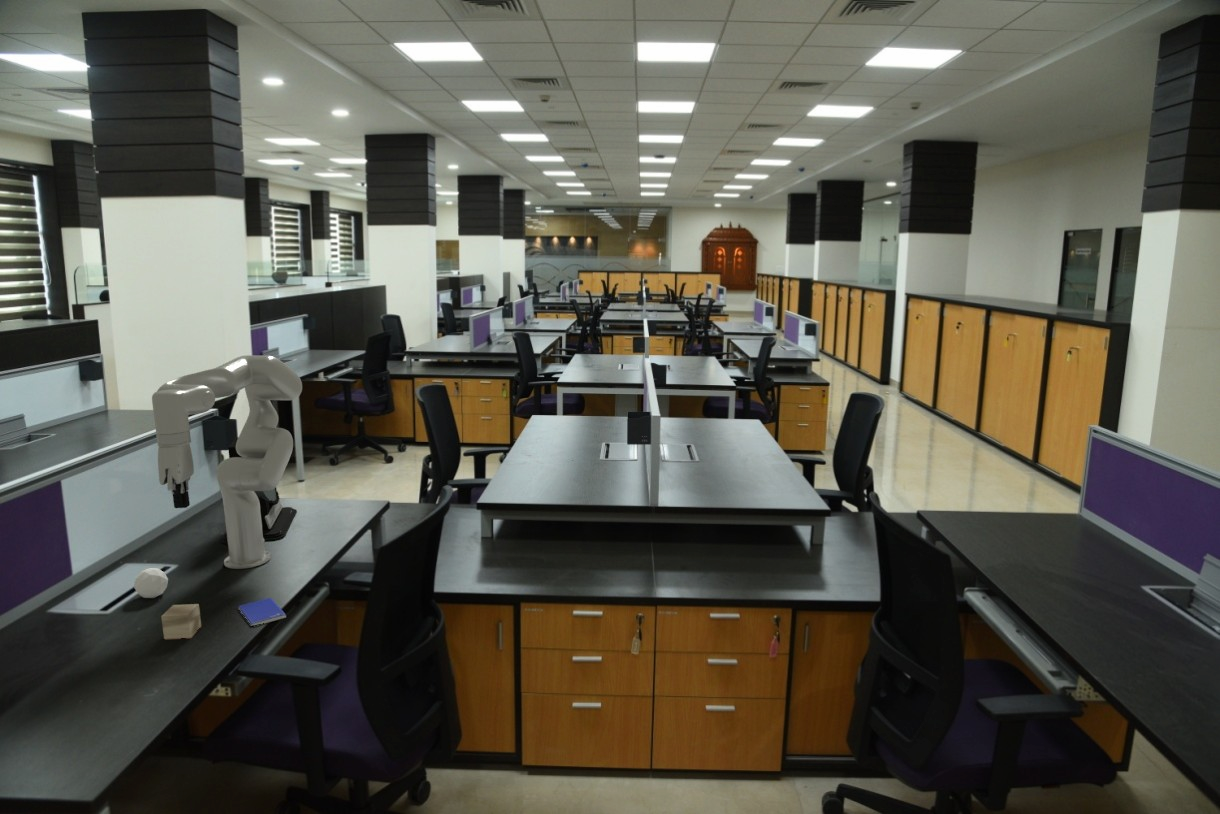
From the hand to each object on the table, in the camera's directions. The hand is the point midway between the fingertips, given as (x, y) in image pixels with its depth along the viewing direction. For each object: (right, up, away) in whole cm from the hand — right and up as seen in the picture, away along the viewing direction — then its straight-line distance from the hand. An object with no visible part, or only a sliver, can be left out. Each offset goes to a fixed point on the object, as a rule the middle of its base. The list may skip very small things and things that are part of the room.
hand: (182, 506), depth 203 cm
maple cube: (+8, -23, -16) cm, 29 cm away
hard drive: (+23, -27, -5) cm, 36 cm away
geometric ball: (-11, -25, +6) cm, 28 cm away
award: (-6, -14, +59) cm, 61 cm away
